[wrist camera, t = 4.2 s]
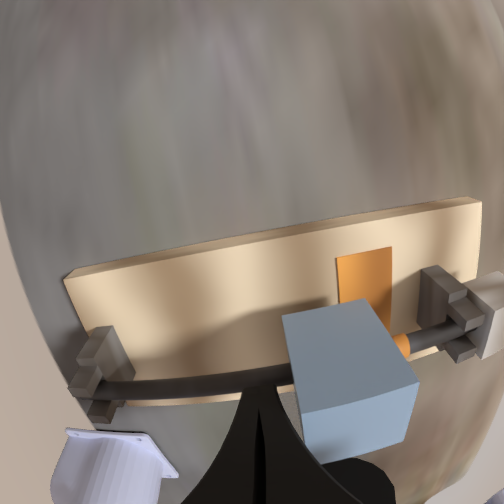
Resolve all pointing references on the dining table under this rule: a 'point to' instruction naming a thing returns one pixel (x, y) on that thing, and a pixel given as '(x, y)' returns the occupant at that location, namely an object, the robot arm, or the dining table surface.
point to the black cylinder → (362, 480)
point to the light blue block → (348, 380)
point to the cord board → (279, 303)
